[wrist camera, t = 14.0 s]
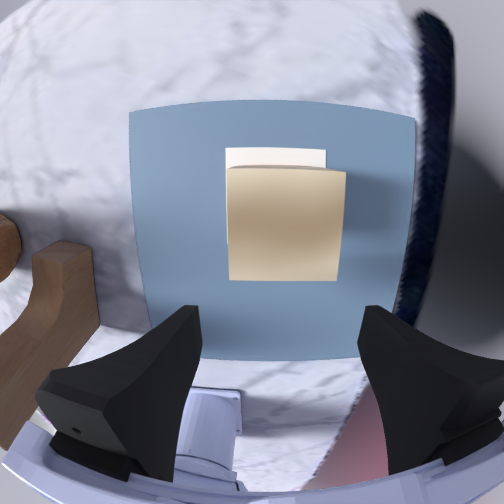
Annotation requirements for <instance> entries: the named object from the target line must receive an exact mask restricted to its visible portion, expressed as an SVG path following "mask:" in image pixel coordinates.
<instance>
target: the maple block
mask: <svg viewBox="0 0 504 504" xmlns="http://www.w3.org/2000/svg"><path fill="white" fill-rule="evenodd" d="M226 176H227V226H228V259H229V280H244V281H337V273H338V265H339V257H340V248H341V238H342V227H343V215H344V201H345V183H346V172H343V171H338V170H333V169H328V168H322V167H305V166H273V165H237V166H234V167H231V168H227V169H226Z"/></svg>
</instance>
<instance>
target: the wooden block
mask: <svg viewBox="0 0 504 504" xmlns="http://www.w3.org/2000/svg"><path fill="white" fill-rule="evenodd" d="M32 274H33V287H32V291H31V294H30V298H29V301H28V305H27V307H26V308H25V309H24V311H23V312H22V313H21V315H20V316H19V318H18V319H17V320H16V321H15V322H14V323H13V324H12V325H11V326H10V327H9V328H8V329H6V330H5V331H4V332H3V333H2V334H1V335H0V447H1V448H2V449H4V450H6V451H8V450H9V448H10V446H11V445H12V443H13V442H14V440H15V438H16V437H17V435H18V434H19V432H20V430H21V429H22V427H23V426H24V424H25V423H26V421H29V420H30V418H31V417H32V415H33V414H34V412H35V411H36V409H37V408H38V407H39V406H38V404H37V402H36V399H35V391H36V390H37V389H38V387H39V386H40V385H41V383H42V382H43V381H44V379H45V378H46V377H47V376H48V374H49V373H50V372H51V370H55V369H61V368H66V367H68V365H69V364H70V363H71V361H72V360H73V359H74V357H75V356H76V355H77V354H78V352H79V351H80V350H81V349H82V347H83V346H84V345H85V344H86V342H87V341H88V340H89V339H90V337H91V336H92V335H93V334H94V332H95V331H96V330H97V329H98V328H99V326H100V320H99V313H98V307H97V300H96V292H95V283H94V273H93V261H92V249H91V247H90V246H85V245H80V244H75V243H71V242H66V241H61V240H59V241H57V242H55V243H53V244H51V245H49V246H48V247H46V248H44V249H42V250H40V251H39V252H37V253H35V254H33V256H32Z"/></svg>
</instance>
